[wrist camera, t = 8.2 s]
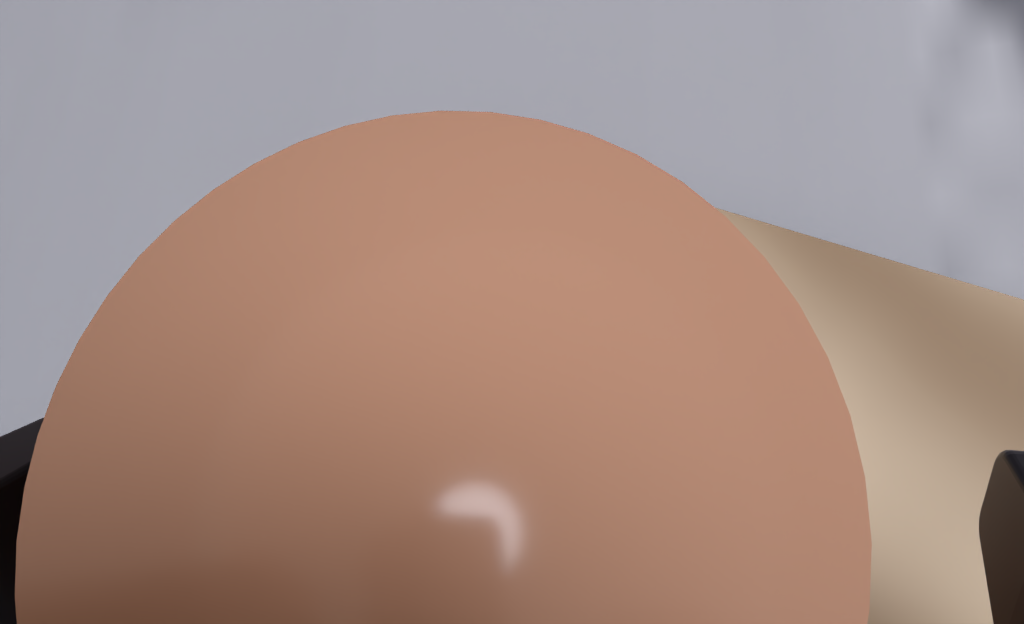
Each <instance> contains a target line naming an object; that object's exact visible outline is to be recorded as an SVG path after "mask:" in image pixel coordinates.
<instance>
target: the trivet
mask: <svg viewBox="0 0 1024 624" xmlns="http://www.w3.org/2000/svg"><path fill="white" fill-rule="evenodd" d="M716 209H717V210H718V211H719V212H721V213H722V214H723V215H724V216H726V217H727V218H728V219H729V221H730V222H731V223H732V224H733V225H734V226H735V227H736V228H737V229H738V230H739V231H740V232H741V233H742V234H743V235H744V236H745V237H746V238H747V239H748V240H749V241H750V242H751V243H752V244H753V246H754V247H755V248H756V249H757V250H758V251H759V252H760V253H761V254H762V255H763V256H764V257H765V258H766V260H767V261H768V262H769V264H770V265H771V266H772V268H773V269H774V271H775V272H776V273H777V275H778V276H779V277H780V279H781V280H782V281H783V283H784V284H785V286H786V287H787V288H788V290H789V291H790V292H791V294H792V295H793V296H794V298H795V299H796V301H797V302H798V303H799V305H800V307H801V309H802V310H803V312H804V314H805V316H806V318H807V319H808V321H809V323H810V325H811V327H812V329H813V330H814V332H815V334H816V336H817V338H818V340H819V341H820V343H821V345H822V347H823V349H824V351H825V352H826V354H827V356H828V358H829V361H830V364H831V366H832V369H833V371H834V374H835V377H836V379H837V382H838V384H839V387H840V390H841V392H842V395H843V397H844V400H845V403H846V405H847V408H848V410H849V413H850V416H851V420H852V424H853V428H854V433H855V437H856V441H857V445H858V449H859V454H860V458H861V462H862V466H863V470H864V475H865V481H866V491H867V501H868V510H869V520H870V530H871V540H872V551H871V580H870V609H869V616H868V622H867V624H993V618H992V612H991V605H990V599H989V593H988V587H987V581H986V575H985V569H984V562H983V556H982V550H981V544H980V538H979V516H980V511H981V507H982V503H983V500H984V496H985V493H986V489H987V486H988V482H989V479H990V475H991V472H992V468H993V465H994V462H995V459H996V458H997V456H998V455H999V453H1001V452H1002V451H1004V450H1019V451H1024V300H1023V299H1019V298H1016V297H1013V296H1009V295H1006V294H1003V293H999V292H996V291H993V290H989V289H986V288H982V287H979V286H976V285H972V284H969V283H966V282H962V281H959V280H956V279H952V278H949V277H946V276H942V275H939V274H936V273H932V272H929V271H925V270H922V269H919V268H915V267H912V266H909V265H905V264H902V263H899V262H895V261H892V260H889V259H885V258H882V257H878V256H875V255H872V254H868V253H865V252H862V251H858V250H855V249H852V248H848V247H845V246H842V245H838V244H835V243H832V242H828V241H825V240H821V239H818V238H815V237H811V236H808V235H805V234H801V233H798V232H795V231H791V230H788V229H785V228H781V227H778V226H775V225H771V224H768V223H764V222H761V221H758V220H754V219H751V218H748V217H744V216H741V215H738V214H734V213H731V212H728V211H724V210H721V209H718V208H716Z"/></svg>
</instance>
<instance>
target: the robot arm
mask: <svg viewBox="0 0 1024 624" xmlns="http://www.w3.org/2000/svg"><path fill="white" fill-rule="evenodd" d="M43 420H44V418H42V419H39V420H37V421H35V422H33V423H30V424H28V425H26V426H24V427H21V428H19V429H17V430H15V431H12V432H10V433H8V434H6V435H3V436H1V437H0V624H17V619H16V606H15V573H16V544H17V535H18V528H19V521H20V514H21V507H22V500H23V493H24V486H25V483H26V479H27V475H28V471H29V467H30V463H31V459H32V455H33V452H34V448H35V444H36V440H37V436H38V433H39V430H40V428H41V425H42V422H43ZM979 538H980V544H981V550H982V556H983V562H984V569H985V575H986V581H987V587H988V593H989V599H990V605H991V612H992V618H993V624H1024V451H1019V450H1004V451H1002V452H1001V453H999V455H998V456H997V458H996V459H995V462H994V465H993V468H992V472H991V475H990V479H989V482H988V486H987V489H986V493H985V496H984V500H983V503H982V507H981V511H980V516H979Z"/></svg>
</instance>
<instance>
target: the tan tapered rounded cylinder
mask: <svg viewBox="0 0 1024 624" xmlns="http://www.w3.org/2000/svg"><path fill="white" fill-rule="evenodd" d="M871 551H872V540H871V530H870V520H869V510H868V501H867V491H866V481H865V475H864V470H863V466H862V462H861V458H860V454H859V449H858V445H857V441H856V437H855V433H854V428H853V424H852V420H851V416H850V413H849V410H848V408H847V405H846V403H845V400H844V397H843V395H842V392H841V390H840V387H839V384H838V382H837V379H836V377H835V374H834V371H833V369H832V366H831V364H830V361H829V358H828V356H827V354H826V352H825V351H824V349H823V347H822V345H821V343H820V341H819V340H818V338H817V336H816V334H815V332H814V330H813V329H812V327H811V325H810V323H809V321H808V319H807V318H806V316H805V314H804V312H803V310H802V309H801V307H800V305H799V303H798V302H797V301H796V299H795V298H794V296H793V295H792V294H791V292H790V291H789V290H788V288H787V287H786V286H785V284H784V283H783V281H782V280H781V279H780V277H779V276H778V275H777V273H776V272H775V271H774V269H773V268H772V266H771V265H770V264H769V262H768V261H767V260H766V258H765V257H764V256H763V255H762V254H761V253H760V252H759V251H758V250H757V249H756V248H755V247H754V246H753V244H752V243H751V242H750V241H749V240H748V239H747V238H746V237H745V236H744V235H743V234H742V233H741V232H740V231H739V230H738V229H737V228H736V227H735V226H734V225H733V224H732V223H731V222H730V221H729V219H728V218H727V217H726V216H724V215H723V214H722V213H721V212H719V211H718V210H717V209H716V208H714V207H713V206H712V205H711V204H709V203H708V202H707V201H706V200H704V199H703V198H702V197H701V196H699V195H698V194H697V193H696V192H694V191H693V190H692V189H691V188H689V187H688V186H687V185H686V184H684V183H683V182H682V181H680V180H678V179H677V178H675V177H673V176H672V175H670V174H668V173H667V172H665V171H663V170H662V169H660V168H658V167H657V166H655V165H653V164H652V163H650V162H648V161H647V160H645V159H643V158H642V157H640V156H638V155H637V154H634V153H632V152H630V151H627V150H625V149H623V148H620V147H618V146H616V145H614V144H611V143H609V142H607V141H604V140H602V139H600V138H597V137H595V136H593V135H591V134H588V133H584V132H581V131H577V130H574V129H570V128H567V127H564V126H560V125H557V124H553V123H550V122H546V121H543V120H538V119H532V118H525V117H519V116H512V115H506V114H499V113H493V112H466V111H434V112H424V113H414V114H403V115H393V116H388V117H384V118H379V119H375V120H370V121H366V122H361V123H356V124H352V125H347V126H344V127H341V128H338V129H335V130H332V131H329V132H326V133H324V134H321V135H318V136H315V137H312V138H309V139H306V140H303V141H301V142H298V143H296V144H294V145H292V146H290V147H288V148H286V149H284V150H282V151H279V152H277V153H275V154H273V155H271V156H269V157H267V158H265V159H263V160H261V161H259V162H257V163H255V164H253V165H252V166H250V167H248V168H247V169H245V170H244V171H242V172H241V173H239V174H237V175H236V176H234V177H233V178H231V179H229V180H228V181H226V182H225V183H223V184H222V185H220V186H218V187H217V188H215V189H214V190H212V191H211V192H210V193H209V194H207V195H206V196H205V197H204V198H202V199H201V200H200V201H199V202H197V203H196V204H195V205H194V206H192V207H191V208H190V209H189V210H187V211H186V212H185V213H184V214H182V215H181V216H180V217H179V218H177V219H176V220H175V221H174V222H173V223H172V224H171V225H170V226H169V227H168V228H167V229H166V230H165V231H164V232H163V233H162V234H161V235H160V236H159V237H158V238H157V239H156V240H155V241H154V242H153V243H152V244H151V245H150V246H149V247H148V248H147V249H146V250H145V251H144V252H143V253H142V254H141V255H140V256H139V257H138V258H137V260H136V261H135V262H134V263H133V264H132V266H131V267H130V268H129V269H128V271H127V272H126V273H125V274H124V276H123V277H122V278H121V279H120V281H119V282H118V283H117V284H116V286H115V287H114V288H113V289H112V291H111V292H110V293H109V294H108V296H107V297H106V299H105V300H104V302H103V303H102V305H101V306H100V308H99V310H98V311H97V313H96V314H95V316H94V317H93V319H92V320H91V322H90V324H89V325H88V327H87V328H86V330H85V331H84V333H83V334H82V336H81V338H80V339H79V341H78V343H77V345H76V347H75V349H74V351H73V353H72V355H71V357H70V359H69V361H68V363H67V365H66V367H65V369H64V371H63V373H62V375H61V377H60V379H59V381H58V383H57V385H56V388H55V390H54V393H53V396H52V398H51V401H50V404H49V406H48V409H47V412H46V414H45V417H44V420H43V422H42V425H41V428H40V430H39V433H38V436H37V440H36V444H35V448H34V452H33V455H32V459H31V463H30V467H29V471H28V475H27V479H26V483H25V486H24V493H23V500H22V507H21V514H20V521H19V528H18V535H17V544H16V573H15V606H16V619H17V624H867V622H868V616H869V609H870V580H871Z"/></svg>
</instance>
